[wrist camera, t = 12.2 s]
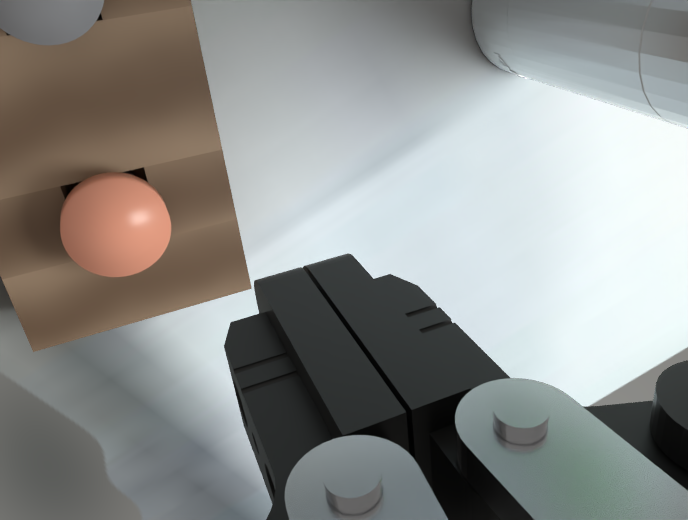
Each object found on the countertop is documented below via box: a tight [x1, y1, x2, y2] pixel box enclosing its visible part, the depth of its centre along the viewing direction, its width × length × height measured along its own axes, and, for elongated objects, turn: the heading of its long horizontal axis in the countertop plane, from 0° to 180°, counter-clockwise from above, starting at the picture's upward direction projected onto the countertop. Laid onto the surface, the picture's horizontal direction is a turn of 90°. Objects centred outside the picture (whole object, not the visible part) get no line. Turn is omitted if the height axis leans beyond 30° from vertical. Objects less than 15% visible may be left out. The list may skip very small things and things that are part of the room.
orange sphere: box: [60, 171, 171, 277], centre depth 33 cm, size 5×5×5 cm
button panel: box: [0, 0, 252, 352], centre depth 32 cm, size 24×12×5 cm, turn 7°
